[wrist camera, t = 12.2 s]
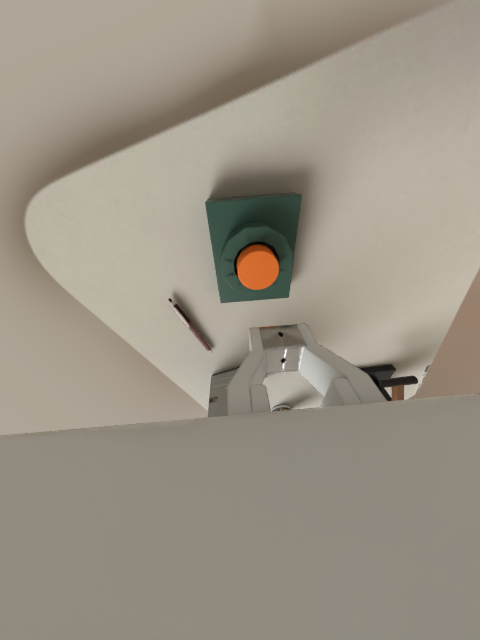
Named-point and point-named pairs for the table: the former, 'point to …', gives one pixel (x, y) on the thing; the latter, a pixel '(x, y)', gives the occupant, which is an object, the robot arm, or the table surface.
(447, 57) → the table surface
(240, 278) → the button
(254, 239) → the control block
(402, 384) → the power switch
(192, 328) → the pen
